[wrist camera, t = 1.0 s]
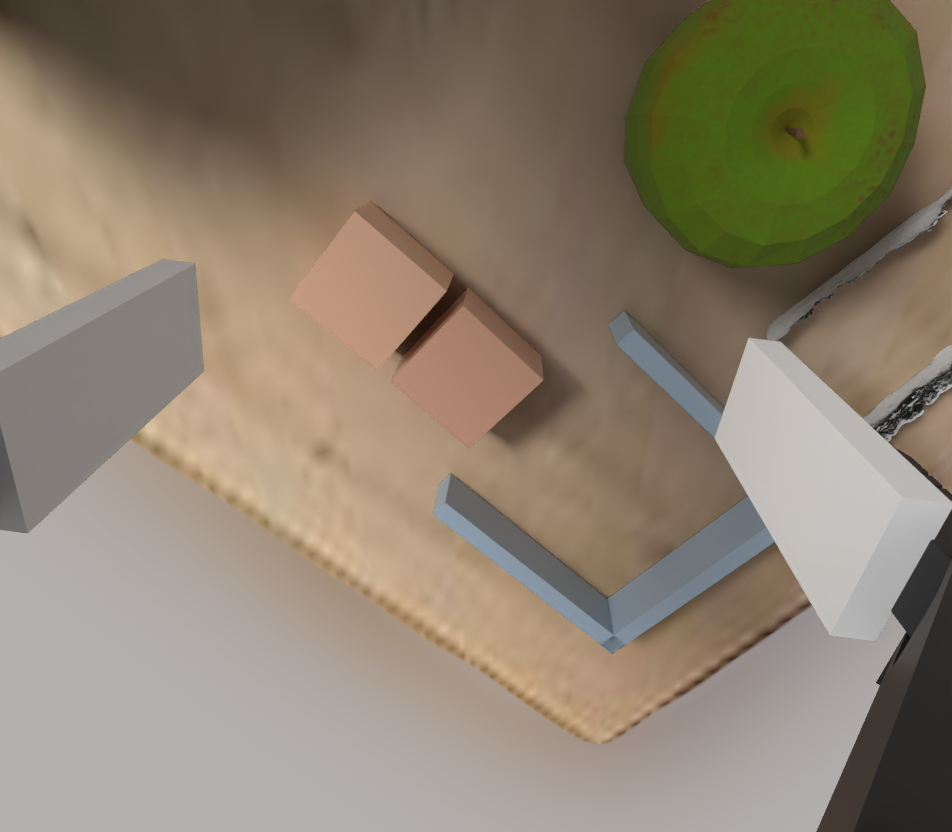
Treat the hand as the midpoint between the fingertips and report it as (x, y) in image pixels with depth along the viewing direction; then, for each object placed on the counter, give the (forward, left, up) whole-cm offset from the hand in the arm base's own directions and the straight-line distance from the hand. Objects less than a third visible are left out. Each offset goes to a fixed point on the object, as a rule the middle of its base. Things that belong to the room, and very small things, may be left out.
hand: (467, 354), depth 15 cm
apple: (+5, +11, -22) cm, 25 cm away
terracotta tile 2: (+4, -7, -22) cm, 24 cm away
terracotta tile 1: (-3, -7, -22) cm, 23 cm away
